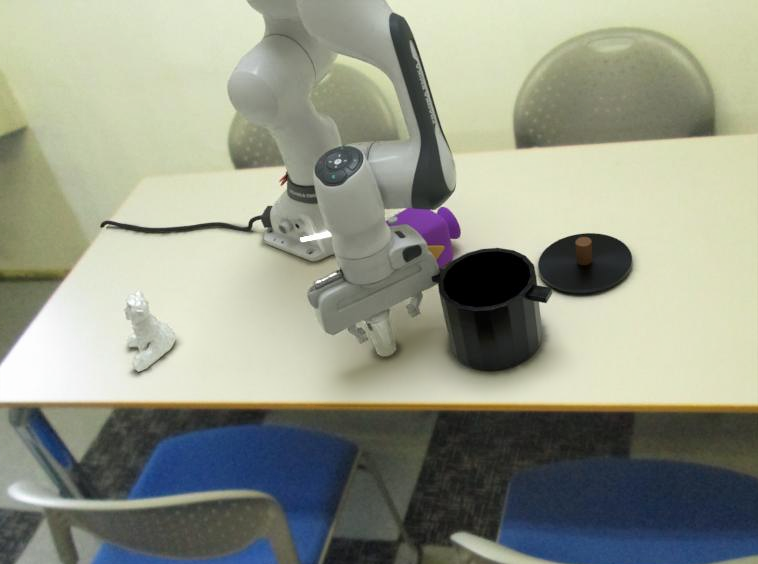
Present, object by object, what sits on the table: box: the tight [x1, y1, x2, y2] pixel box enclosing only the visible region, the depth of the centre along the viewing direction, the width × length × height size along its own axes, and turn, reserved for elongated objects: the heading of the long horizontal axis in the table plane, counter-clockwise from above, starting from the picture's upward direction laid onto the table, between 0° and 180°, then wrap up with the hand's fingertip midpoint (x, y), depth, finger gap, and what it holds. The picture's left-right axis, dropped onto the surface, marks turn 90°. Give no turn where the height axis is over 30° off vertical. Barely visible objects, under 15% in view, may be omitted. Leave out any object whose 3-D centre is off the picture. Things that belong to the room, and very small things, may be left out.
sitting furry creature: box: [123, 289, 176, 373], centre depth 139 cm, size 10×9×12 cm
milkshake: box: [362, 307, 397, 357], centre depth 128 cm, size 4×5×10 cm
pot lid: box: [537, 232, 633, 294], centre depth 135 cm, size 16×16×5 cm
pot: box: [431, 247, 553, 372], centre depth 124 cm, size 15×20×12 cm
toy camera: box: [385, 206, 462, 268], centre depth 143 cm, size 11×14×10 cm
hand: (388, 327), depth 128 cm, fingers open, 8 cm apart
